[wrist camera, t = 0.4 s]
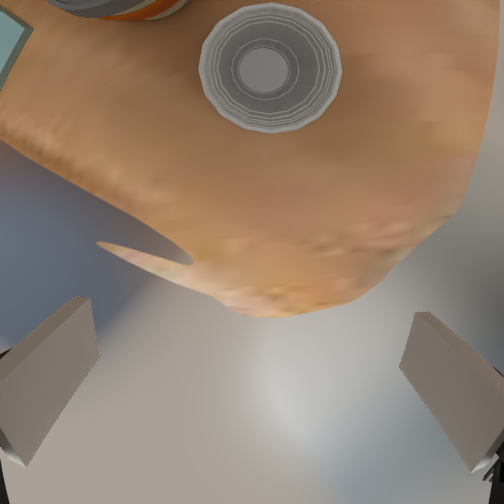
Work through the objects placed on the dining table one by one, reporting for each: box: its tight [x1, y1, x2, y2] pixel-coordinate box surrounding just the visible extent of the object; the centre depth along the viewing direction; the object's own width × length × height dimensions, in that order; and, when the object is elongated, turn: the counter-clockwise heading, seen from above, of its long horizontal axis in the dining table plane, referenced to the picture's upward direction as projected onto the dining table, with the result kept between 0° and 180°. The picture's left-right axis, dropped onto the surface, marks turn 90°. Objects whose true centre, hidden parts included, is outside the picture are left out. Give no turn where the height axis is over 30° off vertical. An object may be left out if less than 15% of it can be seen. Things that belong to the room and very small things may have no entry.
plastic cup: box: [198, 2, 342, 134], centre depth 24 cm, size 11×11×12 cm
